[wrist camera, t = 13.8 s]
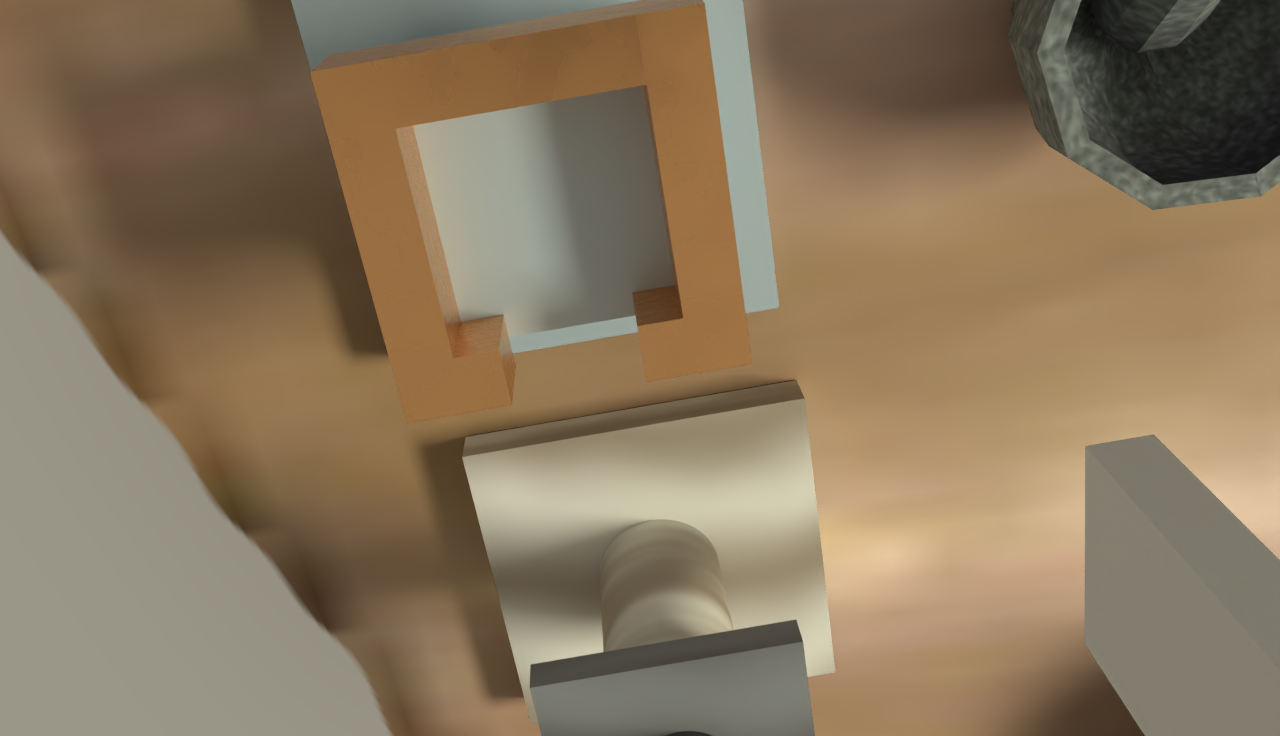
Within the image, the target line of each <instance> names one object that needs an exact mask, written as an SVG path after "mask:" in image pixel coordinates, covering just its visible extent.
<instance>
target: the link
mask: <svg viewBox="0 0 1280 736" xmlns="http://www.w3.org/2000/svg"><path fill="white" fill-rule="evenodd" d="M310 75H311V78H312V82H313V86H314V89H315V93H316V96H317V100H318V104H319V107H320V111H321V115H322V118H323V122H324V125H325V129H326V133H327V136H328V140H329V143H330V147H331V151H332V154H333V158H334V161H335V165H336V169H337V172H338V176H339V179H340V183H341V187H342V190H343V194H344V198H345V201H346V205H347V208H348V212H349V216H350V219H351V223H352V226H353V230H354V234H355V237H356V241H357V244H358V248H359V252H360V255H361V259H362V262H363V266H364V270H365V273H366V277H367V281H368V284H369V288H370V291H371V295H372V299H373V302H374V306H375V309H376V313H377V317H378V320H379V324H380V327H381V331H382V335H383V338H384V342H385V345H386V349H387V353H388V356H389V360H390V364H391V367H392V371H393V374H394V378H395V382H396V385H397V389H398V392H399V396H400V400H401V403H402V407H403V410H404V414H405V418H406V421H407V423H411V422H417V421H423V420H429V419H434V418H440V417H446V416H452V415H458V414H463V413H469V412H475V411H481V410H487V409H492V408H498V407H504V406H510V405H512V398H513V388H514V377H515V362H514V358H513V353H512V349H511V344H510V340H509V335H508V331H507V327H506V322H505V318H504V314H503V315H498V316H492V317H486V318H480V319H475V320H469V321H463V322H461V320H460V315H459V311H458V307H457V303H456V299H455V295H454V291H453V287H452V283H451V279H450V275H449V270H448V266H447V262H446V258H445V254H444V250H443V246H442V242H441V238H440V234H439V230H438V226H437V221H436V217H435V213H434V209H433V205H432V201H431V197H430V193H429V189H428V185H427V181H426V176H425V172H424V168H423V164H422V160H421V156H420V152H419V148H418V144H417V140H416V136H415V132H414V127H413V125H419V124H425V123H430V122H436V121H442V120H448V119H453V118H459V117H465V116H470V115H476V114H482V113H488V112H493V111H499V110H505V109H510V108H516V107H522V106H528V105H533V104H539V103H545V102H550V101H556V100H562V99H568V98H573V97H579V96H585V95H591V94H596V93H602V92H608V91H613V90H619V89H625V88H631V87H636V86H642V85H643V87H644V93H645V100H646V106H647V112H648V119H649V125H650V131H651V138H652V144H653V150H654V157H655V163H656V169H657V176H658V182H659V188H660V195H661V201H662V207H663V214H664V220H665V226H666V233H667V239H668V245H669V252H670V258H671V264H672V271H673V277H674V283H675V285H671V286H665V287H660V288H654V289H648V290H642V291H637V292H632V296H633V302H634V309H635V315H636V322H637V328H638V334H639V339H640V345H641V351H642V357H643V362H644V368H645V374H646V379H647V382H649V381H655V380H661V379H667V378H673V377H679V376H684V375H690V374H696V373H702V372H708V371H713V370H719V369H725V368H731V367H737V366H742V365H748V364H752V358H751V350H750V343H749V335H748V328H747V320H746V312H745V305H744V297H743V290H742V282H741V275H740V267H739V259H738V252H737V244H736V237H735V229H734V221H733V214H732V206H731V199H730V191H729V183H728V176H727V168H726V161H725V153H724V146H723V138H722V130H721V123H720V115H719V108H718V100H717V92H716V85H715V77H714V70H713V62H712V54H711V47H710V39H709V32H708V24H707V16H706V9H705V3H704V2H703V0H638V1H633V2H627V3H621V4H615V5H610V6H604V7H598V8H593V9H587V10H581V11H576V12H570V13H564V14H559V15H553V16H547V17H541V18H536V19H530V20H524V21H519V22H513V23H507V24H502V25H496V26H490V27H484V28H479V29H473V30H467V31H462V32H456V33H450V34H445V35H439V36H433V37H428V38H422V39H416V40H410V41H405V42H399V43H393V44H388V45H382V46H376V47H371V48H365V49H359V50H354V51H348V52H342V53H336V54H331V55H329V56H328V57H327V58H325V59H324V60H323V61H322V62H321V63H320V64H319V65H317V66H316V67H315V68H314V69H313V70H312V71H310Z"/></svg>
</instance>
